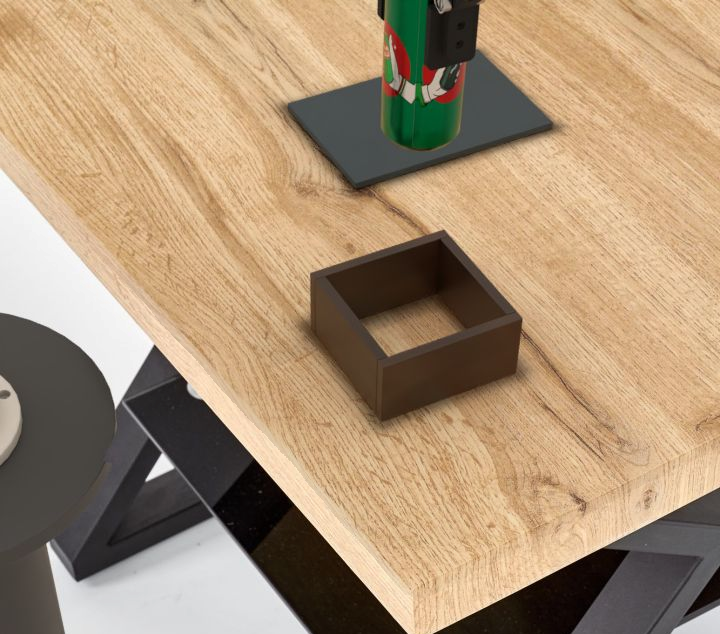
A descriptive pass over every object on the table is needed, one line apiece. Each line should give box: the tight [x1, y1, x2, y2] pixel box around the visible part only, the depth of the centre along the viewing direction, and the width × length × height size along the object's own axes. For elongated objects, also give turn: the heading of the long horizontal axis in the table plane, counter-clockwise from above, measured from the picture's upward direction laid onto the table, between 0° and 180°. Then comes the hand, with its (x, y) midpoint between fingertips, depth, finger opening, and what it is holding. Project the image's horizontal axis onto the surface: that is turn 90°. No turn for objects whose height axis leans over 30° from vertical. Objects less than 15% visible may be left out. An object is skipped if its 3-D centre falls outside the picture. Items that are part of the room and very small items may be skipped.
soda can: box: [380, 0, 466, 152], centre depth 95 cm, size 5×5×12 cm
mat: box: [287, 48, 554, 190], centre depth 128 cm, size 18×12×1 cm, turn 118°
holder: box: [309, 229, 524, 423], centre depth 108 cm, size 11×11×5 cm
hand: (425, 35), depth 94 cm, fingers closed on soda can, 5 cm apart
